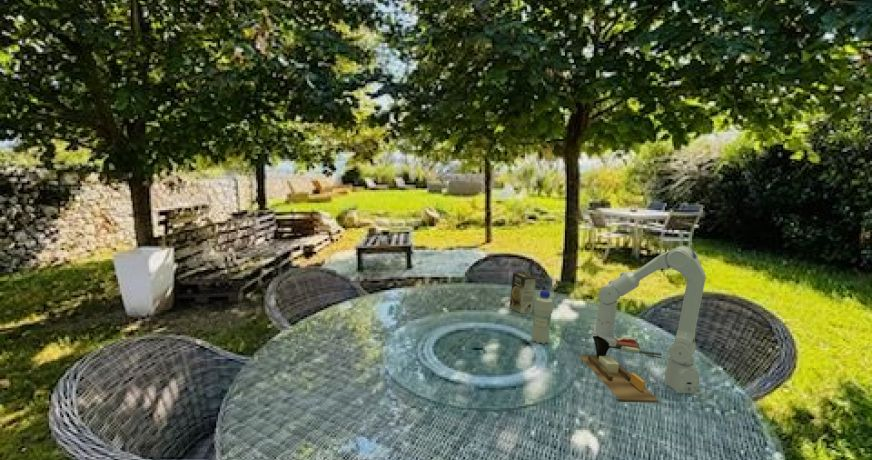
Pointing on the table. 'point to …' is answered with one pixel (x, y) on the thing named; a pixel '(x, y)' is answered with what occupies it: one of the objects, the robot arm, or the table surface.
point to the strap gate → (637, 381)
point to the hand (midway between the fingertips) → (600, 358)
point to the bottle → (542, 318)
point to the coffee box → (522, 292)
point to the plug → (609, 364)
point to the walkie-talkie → (630, 345)
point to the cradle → (618, 382)
